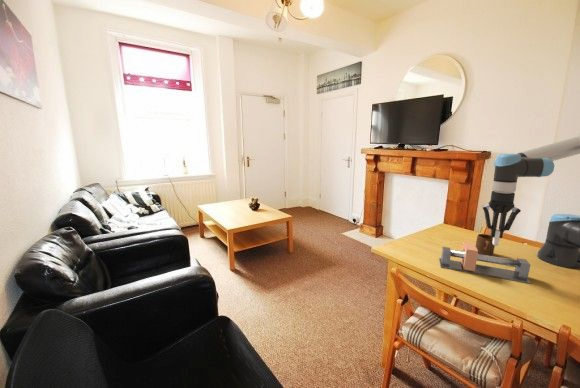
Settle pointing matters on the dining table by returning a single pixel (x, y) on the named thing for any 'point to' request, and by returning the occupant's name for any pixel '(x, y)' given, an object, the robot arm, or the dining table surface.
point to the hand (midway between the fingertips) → (495, 244)
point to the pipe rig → (518, 275)
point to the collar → (469, 256)
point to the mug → (485, 244)
